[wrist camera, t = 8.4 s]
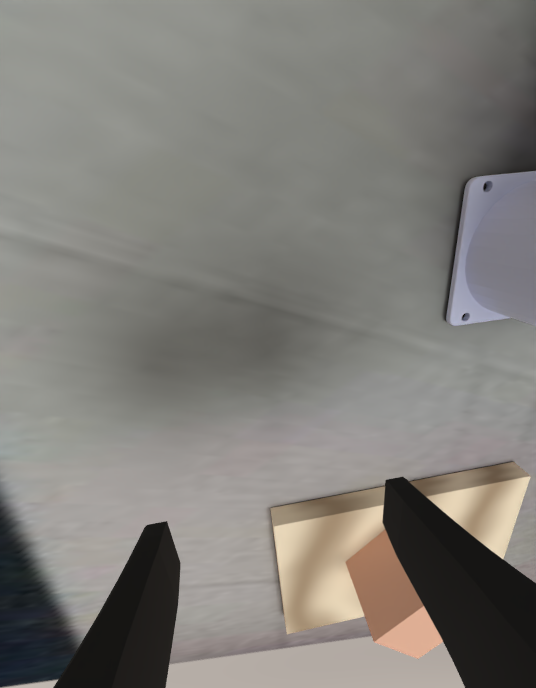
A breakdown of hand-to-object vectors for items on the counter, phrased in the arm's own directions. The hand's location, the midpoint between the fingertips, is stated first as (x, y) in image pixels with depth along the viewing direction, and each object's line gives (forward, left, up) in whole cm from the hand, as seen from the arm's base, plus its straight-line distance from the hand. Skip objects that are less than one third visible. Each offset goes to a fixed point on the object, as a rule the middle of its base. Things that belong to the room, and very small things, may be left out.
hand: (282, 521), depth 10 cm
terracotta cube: (-9, +17, -8) cm, 21 cm away
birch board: (-10, +18, -9) cm, 23 cm away
